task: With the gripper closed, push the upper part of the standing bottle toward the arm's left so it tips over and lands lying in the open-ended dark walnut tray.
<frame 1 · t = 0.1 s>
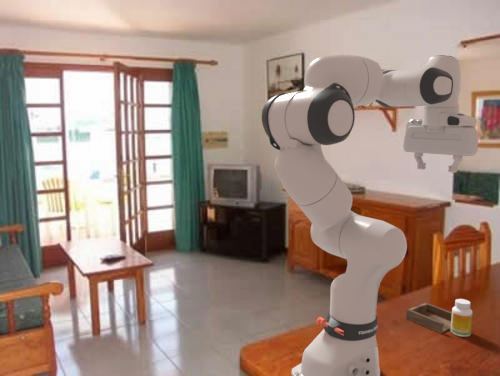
hand: (436, 170, 122), 48 cm above the table, fingers open, 8 cm apart
supplement bottle: (460, 333, 132), on the table
tray: (432, 321, 139), on the table
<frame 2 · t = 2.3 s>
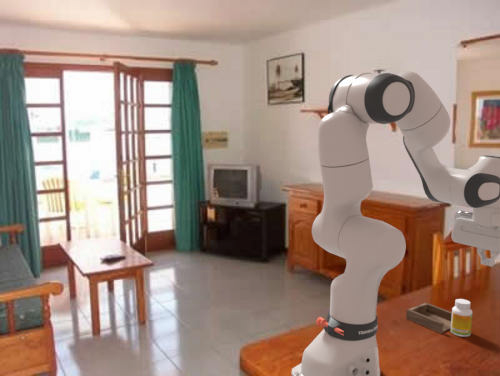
hand: (487, 265, 123), 22 cm above the table, fingers closed
nothing on the table moved.
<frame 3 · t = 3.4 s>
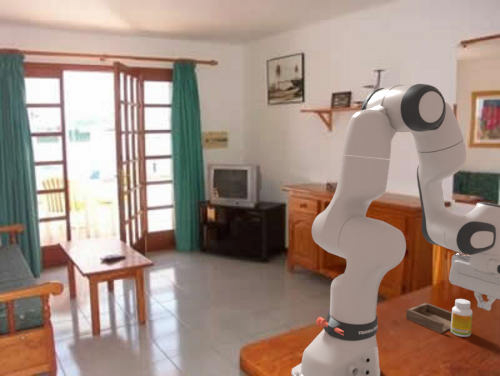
hand: (484, 308, 125), 10 cm above the table, fingers closed
nothing on the table moved.
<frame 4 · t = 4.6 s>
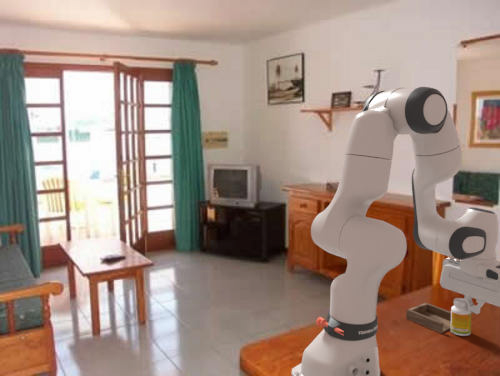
hand: (473, 312, 128), 8 cm above the table, fingers closed
supplement bottle: (460, 333, 132), on the table, touching gripper
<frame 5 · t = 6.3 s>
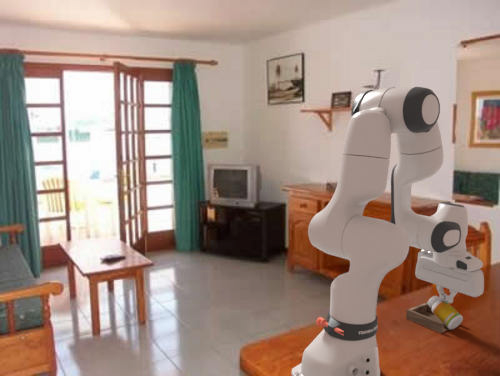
hand: (446, 301, 135), 8 cm above the table, fingers closed
supplement bottle: (457, 323, 132), point 2 cm above the table, touching gripper, tray
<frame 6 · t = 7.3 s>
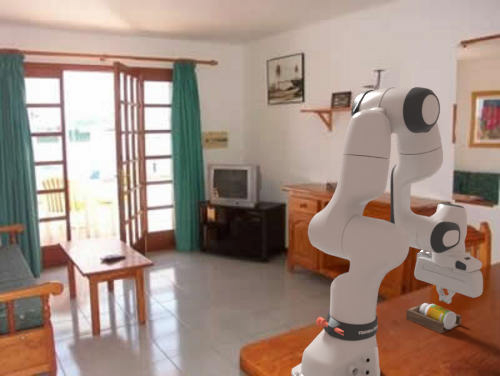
hand: (445, 301, 135), 8 cm above the table, fingers closed
supplement bottle: (451, 321, 132), point 3 cm above the table, touching tray
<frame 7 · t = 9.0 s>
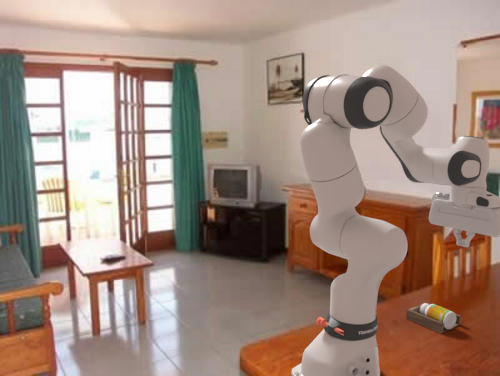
hand: (462, 246, 124), 27 cm above the table, fingers closed
nothing on the table moved.
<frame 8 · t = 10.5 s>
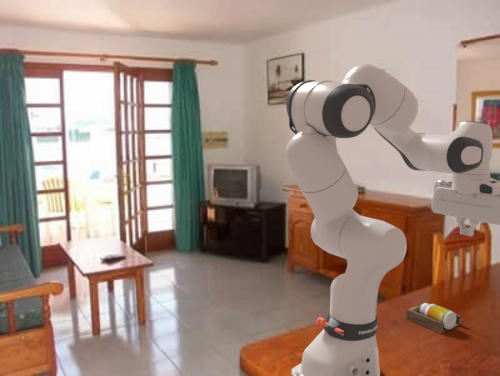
hand: (466, 235, 120), 31 cm above the table, fingers closed
nothing on the table moved.
at the end: supplement bottle tilted 90°; supplement bottle 6.9 cm from the tray (horizontally); the gripper is holding nothing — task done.
